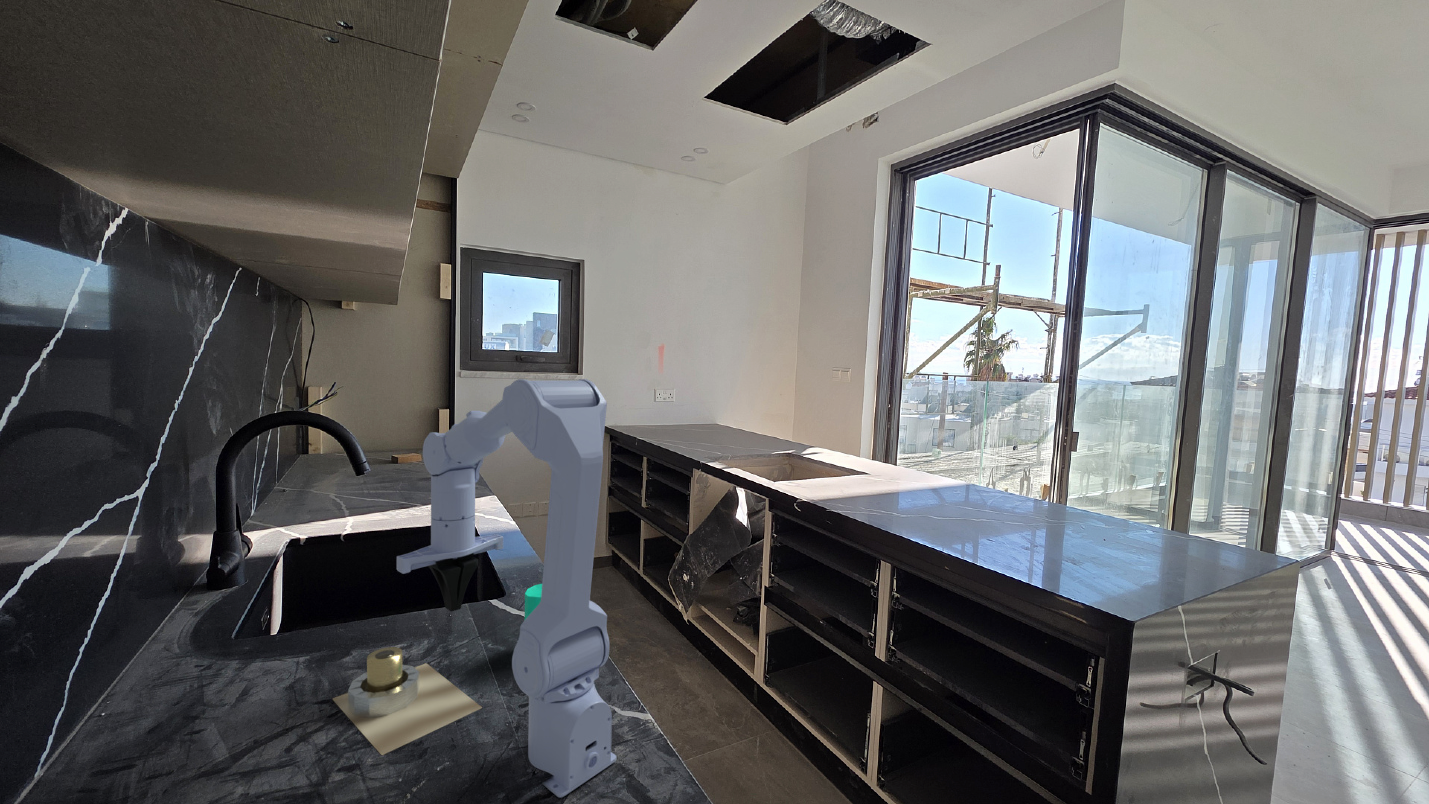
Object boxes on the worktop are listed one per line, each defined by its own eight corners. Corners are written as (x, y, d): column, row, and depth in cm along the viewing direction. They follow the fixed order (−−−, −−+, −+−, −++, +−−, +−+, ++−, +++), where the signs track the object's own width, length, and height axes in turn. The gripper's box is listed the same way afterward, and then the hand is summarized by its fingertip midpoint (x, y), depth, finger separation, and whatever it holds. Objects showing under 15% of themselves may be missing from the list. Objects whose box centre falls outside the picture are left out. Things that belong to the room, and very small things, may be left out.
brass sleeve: (407, 698, 75) (407, 653, 74) (374, 712, 72) (374, 665, 71) (394, 686, 77) (394, 643, 77) (362, 699, 74) (361, 655, 74)
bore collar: (428, 697, 75) (428, 679, 75) (363, 725, 69) (363, 706, 69) (403, 675, 80) (403, 658, 80) (340, 700, 74) (340, 681, 74)
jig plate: (482, 715, 74) (482, 707, 73) (381, 763, 64) (381, 755, 64) (426, 669, 84) (426, 663, 84) (332, 706, 74) (332, 698, 74)
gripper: (486, 502, 89) (485, 586, 90) (387, 519, 78) (387, 615, 79) (511, 510, 85) (510, 599, 86) (409, 530, 73) (409, 632, 74)
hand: (453, 608), depth 82 cm, fingers closed
